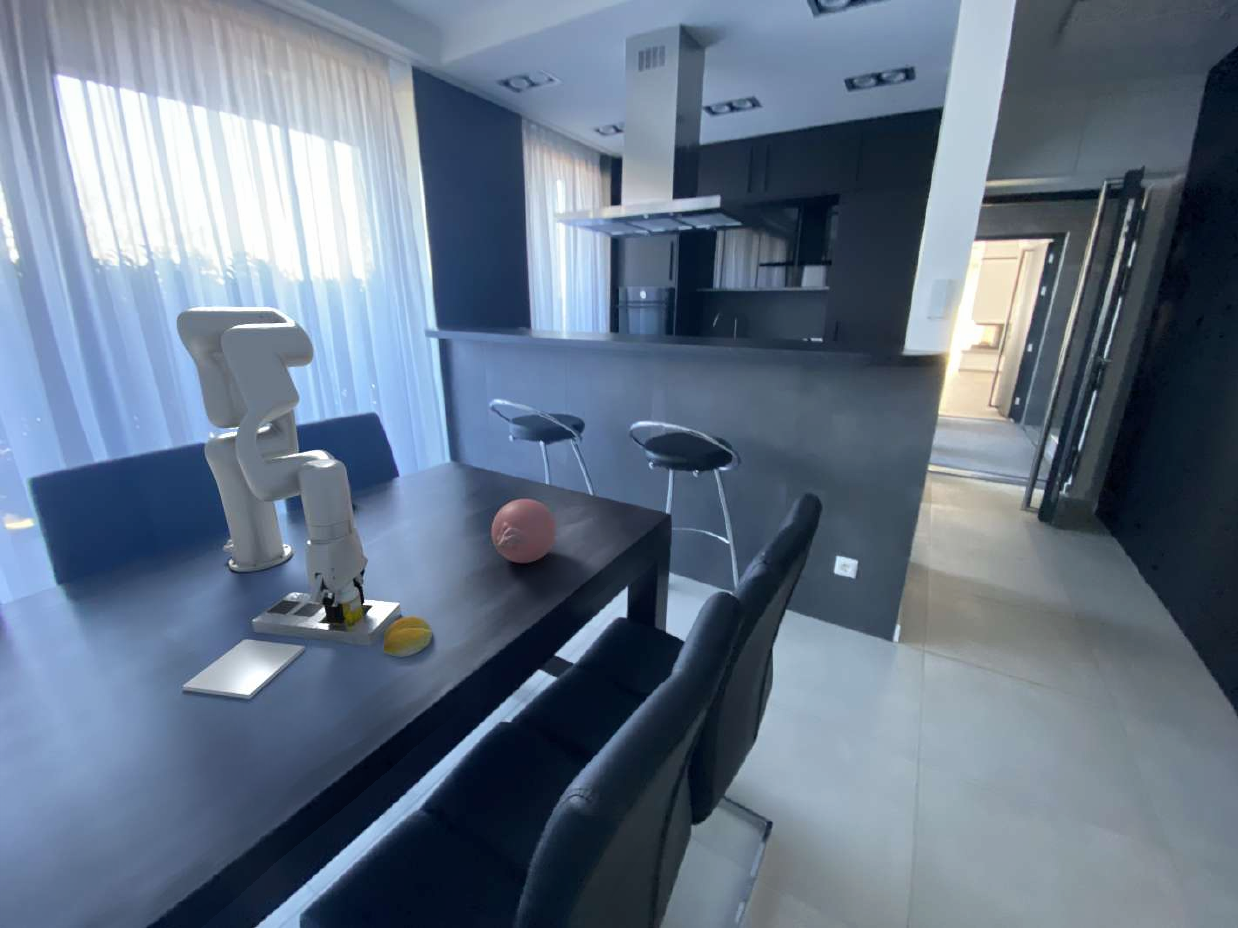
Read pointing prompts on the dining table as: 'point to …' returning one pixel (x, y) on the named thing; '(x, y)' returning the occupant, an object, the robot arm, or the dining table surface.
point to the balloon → (523, 530)
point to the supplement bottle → (349, 604)
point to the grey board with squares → (325, 621)
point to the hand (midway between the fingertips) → (346, 611)
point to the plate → (244, 669)
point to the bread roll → (407, 637)
